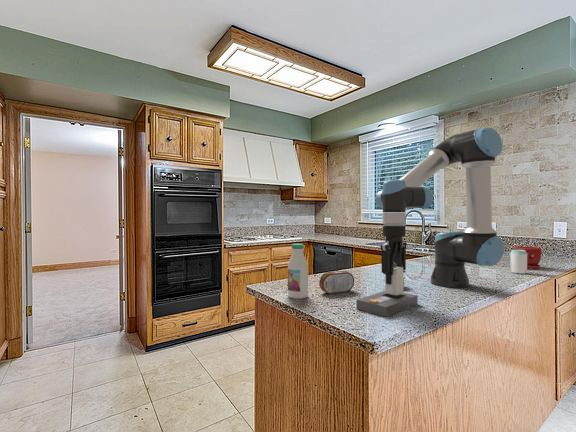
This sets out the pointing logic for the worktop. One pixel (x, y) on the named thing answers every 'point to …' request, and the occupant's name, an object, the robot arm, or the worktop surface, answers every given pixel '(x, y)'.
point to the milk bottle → (297, 273)
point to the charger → (397, 280)
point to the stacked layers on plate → (403, 280)
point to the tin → (336, 282)
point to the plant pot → (531, 261)
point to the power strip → (386, 303)
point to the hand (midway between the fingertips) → (394, 292)
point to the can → (518, 261)
